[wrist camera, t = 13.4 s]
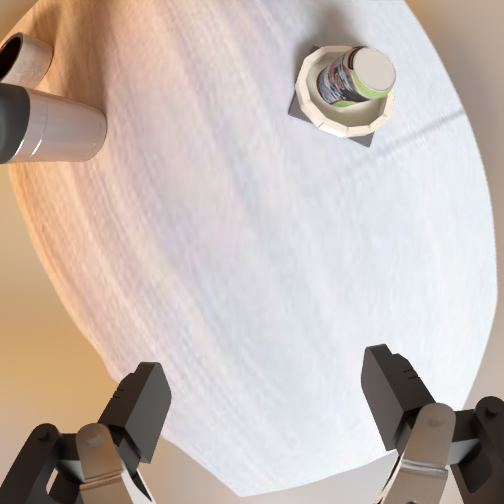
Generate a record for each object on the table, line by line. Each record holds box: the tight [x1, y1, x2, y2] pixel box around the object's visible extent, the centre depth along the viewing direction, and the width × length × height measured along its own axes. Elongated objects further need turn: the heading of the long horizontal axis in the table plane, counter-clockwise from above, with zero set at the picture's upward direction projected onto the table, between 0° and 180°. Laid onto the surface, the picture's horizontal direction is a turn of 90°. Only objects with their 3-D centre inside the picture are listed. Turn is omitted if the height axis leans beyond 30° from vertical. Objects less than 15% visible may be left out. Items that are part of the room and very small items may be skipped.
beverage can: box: [316, 46, 396, 107], centre depth 25 cm, size 6×7×12 cm
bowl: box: [295, 46, 394, 138], centre depth 30 cm, size 13×13×3 cm
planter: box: [0, 32, 53, 89], centre depth 26 cm, size 11×11×10 cm
